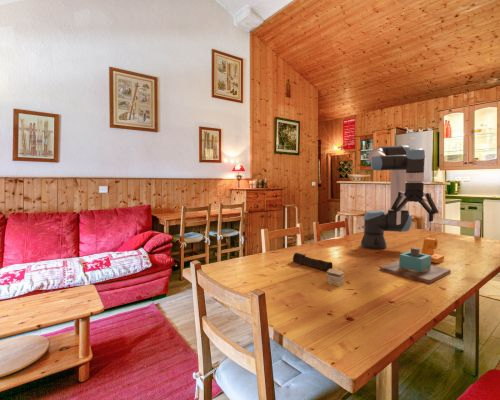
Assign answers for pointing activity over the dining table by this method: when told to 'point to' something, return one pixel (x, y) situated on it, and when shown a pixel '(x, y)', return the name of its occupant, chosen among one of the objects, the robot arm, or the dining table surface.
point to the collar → (415, 262)
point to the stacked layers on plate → (335, 277)
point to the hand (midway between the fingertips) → (412, 226)
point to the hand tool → (311, 262)
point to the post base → (425, 276)
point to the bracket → (431, 250)
